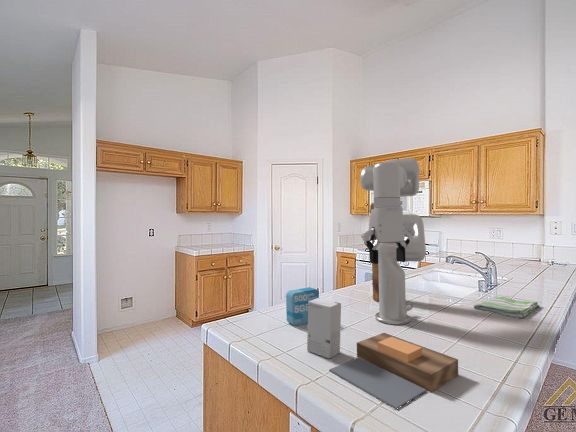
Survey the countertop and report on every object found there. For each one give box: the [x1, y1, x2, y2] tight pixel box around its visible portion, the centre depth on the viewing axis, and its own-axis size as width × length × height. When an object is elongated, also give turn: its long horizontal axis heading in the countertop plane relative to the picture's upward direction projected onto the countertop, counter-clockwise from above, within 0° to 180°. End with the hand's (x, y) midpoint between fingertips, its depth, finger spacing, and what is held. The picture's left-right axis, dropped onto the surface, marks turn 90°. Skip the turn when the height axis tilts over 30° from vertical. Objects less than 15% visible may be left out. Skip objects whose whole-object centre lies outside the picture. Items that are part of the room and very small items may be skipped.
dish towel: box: [472, 296, 540, 320], centre depth 129 cm, size 17×23×4 cm
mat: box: [328, 357, 427, 410], centre depth 75 cm, size 11×20×1 cm, turn 35°
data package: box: [285, 286, 320, 327], centre depth 117 cm, size 12×4×12 cm, turn 121°
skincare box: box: [306, 297, 342, 359], centre depth 91 cm, size 8×6×15 cm
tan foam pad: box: [378, 337, 422, 362], centre depth 81 cm, size 9×6×2 cm, turn 36°
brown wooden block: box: [356, 332, 459, 393], centre depth 82 cm, size 12×22×4 cm, turn 35°
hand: (387, 262), depth 92 cm, fingers open, 9 cm apart
